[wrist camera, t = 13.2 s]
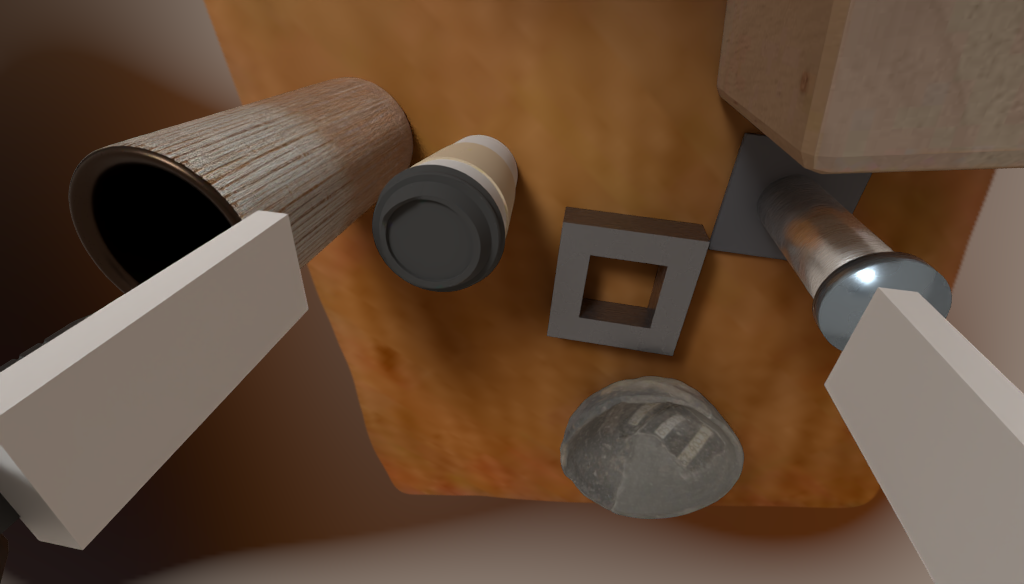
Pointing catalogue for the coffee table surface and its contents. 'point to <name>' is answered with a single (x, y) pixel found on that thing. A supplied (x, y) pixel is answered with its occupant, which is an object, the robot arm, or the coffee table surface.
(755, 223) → the mat
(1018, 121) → the wooden block
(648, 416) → the bowl
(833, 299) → the silver domed cylinder
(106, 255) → the planter
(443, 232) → the coffee cup
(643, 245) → the frame
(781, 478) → the coffee table surface
